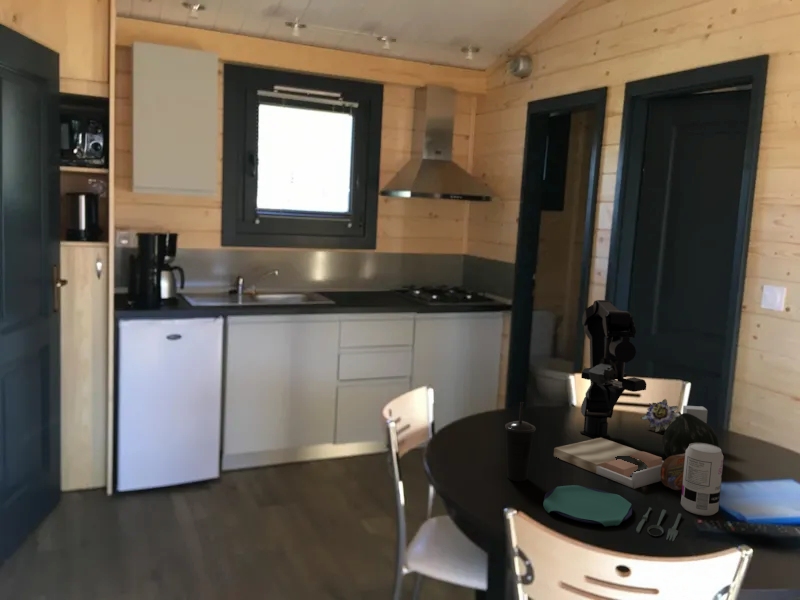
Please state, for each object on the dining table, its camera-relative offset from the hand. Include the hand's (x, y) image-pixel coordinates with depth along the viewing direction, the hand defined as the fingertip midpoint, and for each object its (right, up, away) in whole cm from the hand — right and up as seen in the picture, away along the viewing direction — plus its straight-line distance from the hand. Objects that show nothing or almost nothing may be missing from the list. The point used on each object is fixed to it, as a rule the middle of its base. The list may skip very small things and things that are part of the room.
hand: (610, 408), depth 205 cm
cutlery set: (-13, -19, -42) cm, 48 cm away
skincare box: (+28, -13, +10) cm, 32 cm away
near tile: (-2, -15, -17) cm, 22 cm away
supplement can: (+10, -18, -37) cm, 43 cm away
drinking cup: (-30, -15, -22) cm, 40 cm away
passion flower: (+25, -11, +27) cm, 38 cm away
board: (-5, -13, -4) cm, 15 cm away
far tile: (+6, -14, -10) cm, 18 cm away
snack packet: (+12, -17, -23) cm, 30 cm away
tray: (+3, -15, -15) cm, 22 cm away
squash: (+21, -15, -4) cm, 26 cm away
